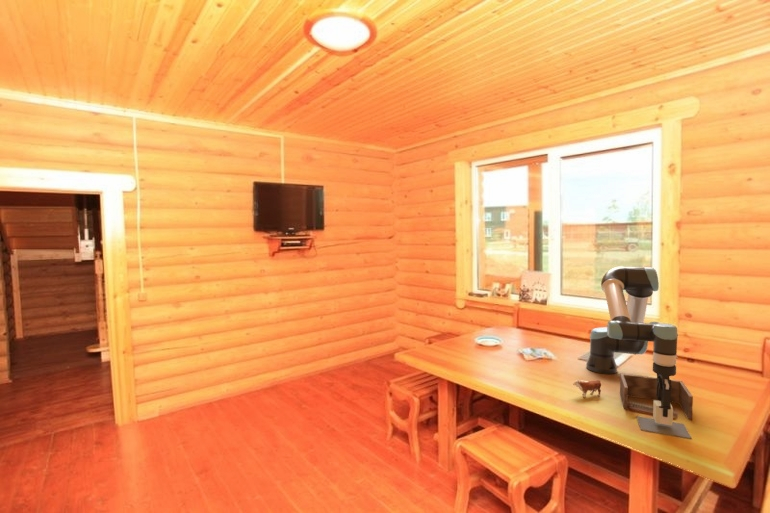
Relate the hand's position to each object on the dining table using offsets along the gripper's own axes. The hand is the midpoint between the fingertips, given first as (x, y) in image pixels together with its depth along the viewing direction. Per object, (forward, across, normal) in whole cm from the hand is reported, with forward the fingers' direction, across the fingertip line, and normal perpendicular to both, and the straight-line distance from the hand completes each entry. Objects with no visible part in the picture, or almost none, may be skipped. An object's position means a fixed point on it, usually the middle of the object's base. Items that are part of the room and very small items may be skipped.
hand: (662, 420), depth 155 cm
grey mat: (+3, 0, 0) cm, 3 cm away
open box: (+3, +20, 0) cm, 20 cm away
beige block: (0, 0, 0) cm, 0 cm away
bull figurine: (+3, +21, +26) cm, 33 cm away
